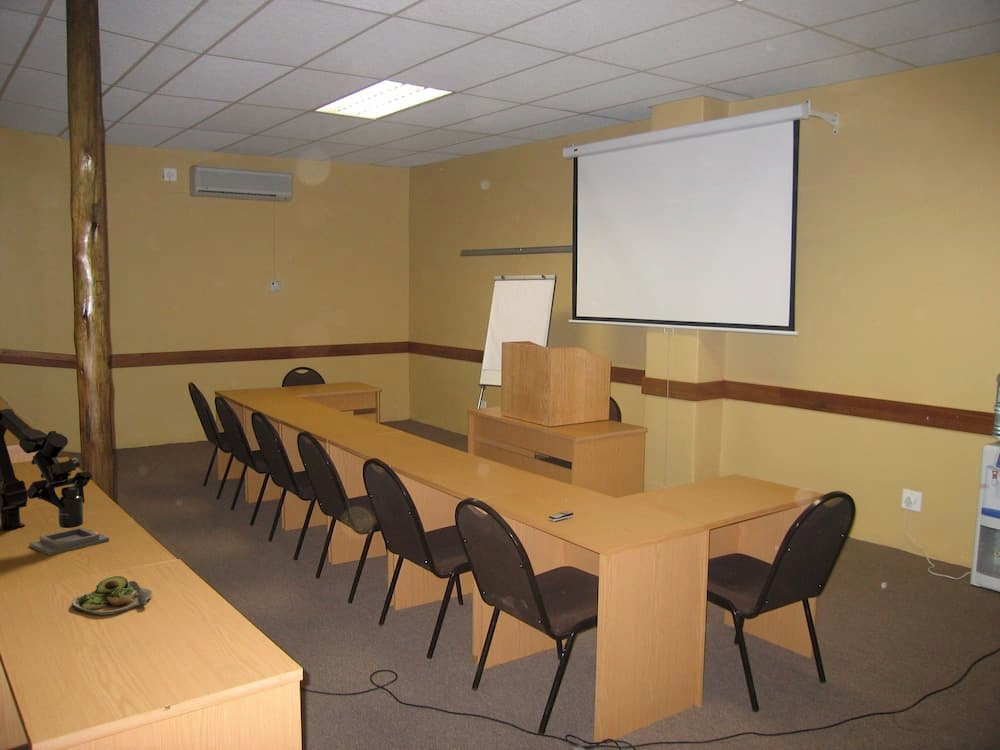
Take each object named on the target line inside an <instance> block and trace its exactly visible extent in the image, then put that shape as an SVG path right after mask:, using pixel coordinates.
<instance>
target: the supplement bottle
mask: <svg viewBox="0 0 1000 750" xmlns="http://www.w3.org/2000/svg"><path fill="white" fill-rule="evenodd" d="M78 494H79V488H78V487H75V486H72V485H70V486H64V487H62V488H61V494H60V495H61V496H60V497H58V498H59V499H60V501H61V503H62V505H63V508H62V509H60V508H58V507H57V509H58V510H57V511H58V526H59V528H63V529H75V528H79V527H82V525H83V523H84V503H83V498H82V497H81V496H80V495H78Z"/></svg>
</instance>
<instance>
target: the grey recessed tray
mask: <svg viewBox="0 0 1000 750" xmlns="http://www.w3.org/2000/svg"><path fill="white" fill-rule="evenodd" d="M106 542H110V537H108V536H106V535H104V534H101V532H97V531H94V530H92V529H87V528H84V527H82V526H79V527H75V528H70V529H67V530H63V531H59V532H54V533H49V534H45V535H42V536H39V540H37V541H33V542H29V547H31V548H33V549H35V550H37V551H38V552H40V553H43V554H45V555H47V556H53V555H57V554H62V553H65V552H69V551H70V552H71V551H74V550H78V549H81V548H85V547H90V546H94V545H98V544H101V543H106Z"/></svg>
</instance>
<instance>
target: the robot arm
mask: <svg viewBox="0 0 1000 750" xmlns="http://www.w3.org/2000/svg"><path fill="white" fill-rule="evenodd" d="M7 431H9V432H10V433H11V434H12V435H13V436H14V437H15V438H17V440H18V441H19V442H18V445H19V447H20V448H21V450H22V451H23V452H24V453H26V454H32V453H35V454H34V455H33V456H32V460H31V463H30V464H31V465H36V466H37V468H38V469H39V471H40V473H41V474H40V477H41V480H40V479H39V480H36V481H32V482H31V484H30V485H29V488H26V483H25V481H24V480H19V479H18V478H17V476H16V474H15V470H14V467H13V464H12V460H11V457H10V454H9V449H8V446H7V443H6V439H5V434H6V432H7ZM68 443H69V439H68V438H67V437H66V436H64V435H63V434H62V433H59V432H57V431H56V430H50V431H48V433H45V432H44V431H42V430H39V429H35V428H33V427H31V426H30V425H28V424H27V423H26V422H25V421H24V420H22V419H21V418H20V417H19V416H18V415H17V414H15V412H14V410H13V409H11V408H2V409H0V530H2V531H7V530H12V529H13V530H14V529H17V528H21V527H26V524H25V523H22V522H21V509H22V508H26V507H27V504H28V503H27V502H28V499H31V500H32V499H36V498H37V499H38V500H43V501H45V502H47V503H49V504H51V505H53V506H55V507H57V509H58V508H60V509H62V508H63V505H62V503H61V501H60V499H59V498H60V497H58V494H57V493H56V491H55V489H57V488H61V487H62V488H63V487H67V486H69V485H70V486H75V487H78V488H79V494H78V495H80V496H81V497H82V498H83V504H85V502H86V501H85V494H84V493H85V492H84V487H86V486H87V485H88V483H89V482H90V481H91V479H92V478H93V477H94V475H93V474H92V472H91V471H90V470H83V471H78V472H76V474H75V475H74V476H73V477H71V475H72V472H73V471H76V470H77V468H79V467H80V466H81V465H80V461H79V459H78V458H77V457H72V458H70V459H68V460H67V461H61V462H59V461H60V460H59V459H58V458H57V457H60V456H61V454H62V453H63V451H65V448H66V447H67V445H68ZM69 477H71V478H69Z"/></svg>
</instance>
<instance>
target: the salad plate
mask: <svg viewBox="0 0 1000 750" xmlns="http://www.w3.org/2000/svg"><path fill="white" fill-rule="evenodd" d="M95 587H96V588H95V590H94V591H91V592H87V593H84V594H81V595H78V596H76V597H74V598H73V599H72V601H71V605H72V607H73V609H75V610H76V611H78V612H79V611H80V612H83V613H86V614H92V615H98V616H109V615H110V616H111V615H117V614H121V613H124V612H127V611H129V610H132V609H135V608H138V607H140V606H144V605H148V600H150V599H151V598H152V596H153V591H152V590H151V589H148V588H144V587H141V586H139V584H138V582H137V581H135V580H131V581H128V579H127V577H124V576H121V575H115V576H110V577H107V578H104V579H102V580H101V581H99V582H98V584H97V585H96V586H95ZM102 608H116V609H110V610H97V609H102Z"/></svg>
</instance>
